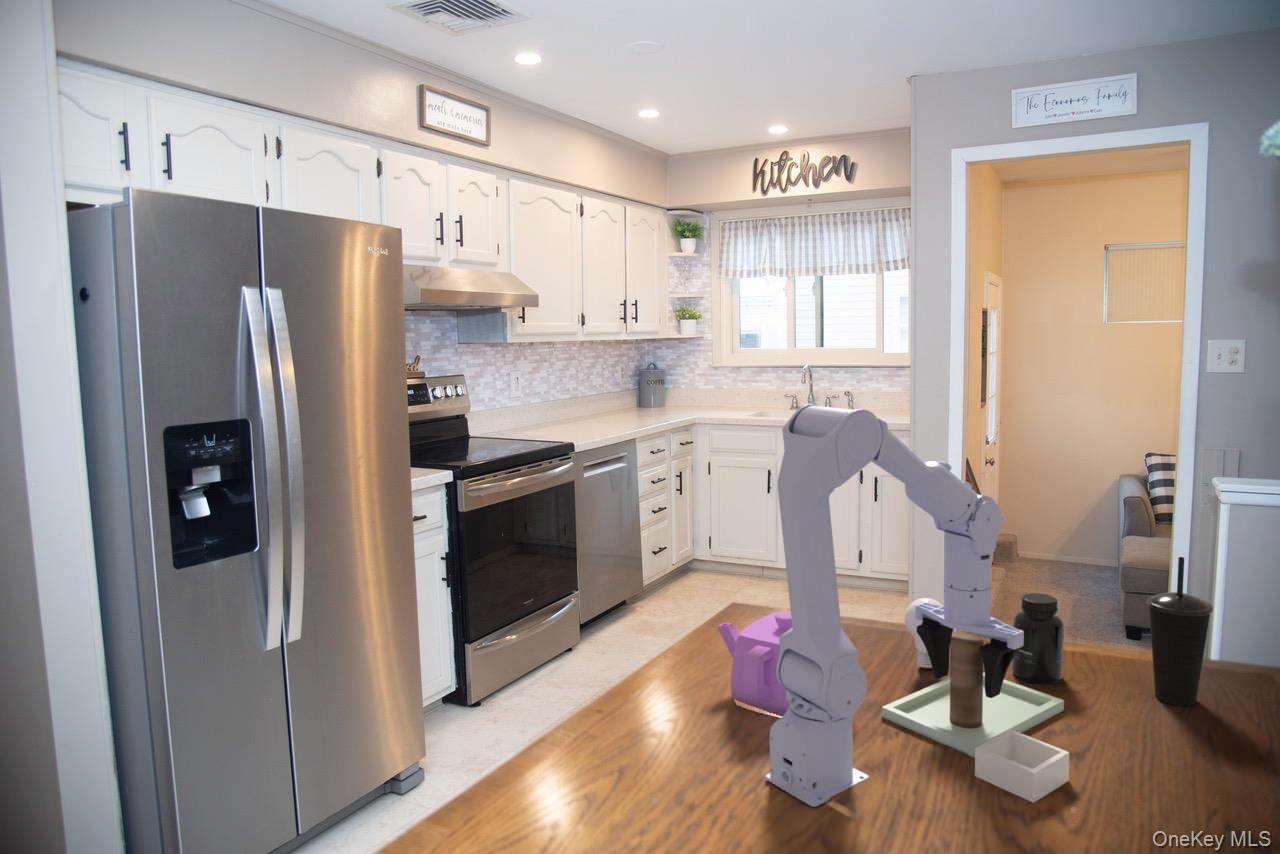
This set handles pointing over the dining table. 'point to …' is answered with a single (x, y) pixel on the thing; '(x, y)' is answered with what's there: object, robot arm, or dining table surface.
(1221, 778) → the dining table surface
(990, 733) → the tray
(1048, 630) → the supplement bottle
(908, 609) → the lightbulb
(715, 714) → the dining table surface
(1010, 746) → the square cup
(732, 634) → the teakettle
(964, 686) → the walnut dowel
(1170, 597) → the drinking cup
